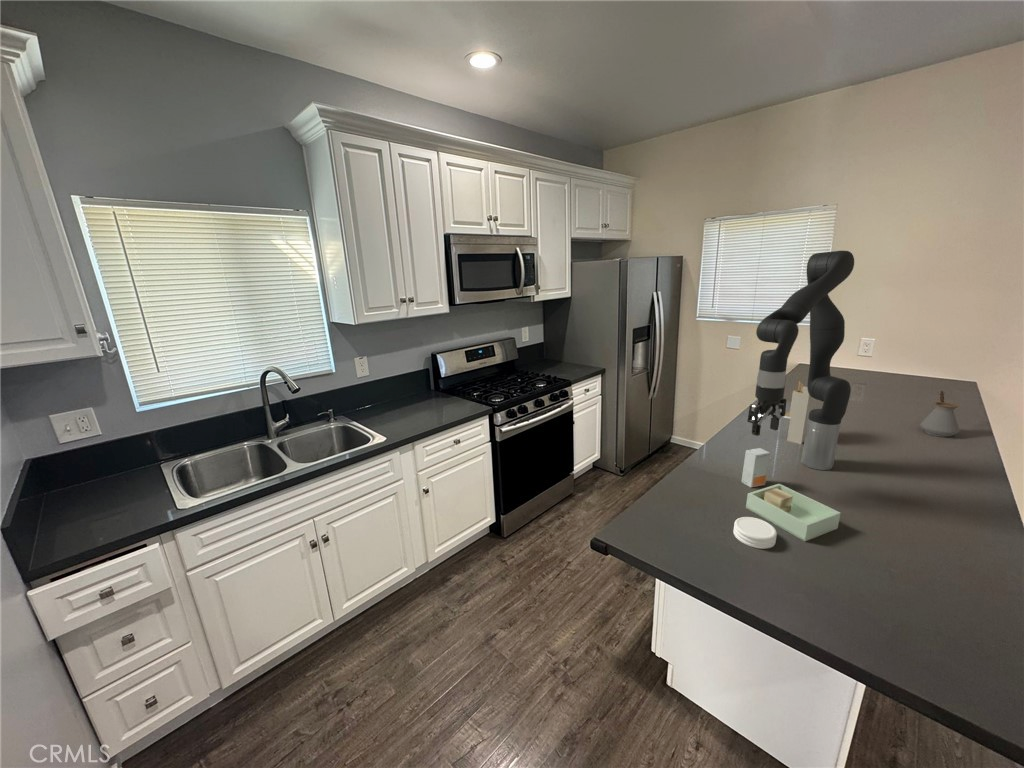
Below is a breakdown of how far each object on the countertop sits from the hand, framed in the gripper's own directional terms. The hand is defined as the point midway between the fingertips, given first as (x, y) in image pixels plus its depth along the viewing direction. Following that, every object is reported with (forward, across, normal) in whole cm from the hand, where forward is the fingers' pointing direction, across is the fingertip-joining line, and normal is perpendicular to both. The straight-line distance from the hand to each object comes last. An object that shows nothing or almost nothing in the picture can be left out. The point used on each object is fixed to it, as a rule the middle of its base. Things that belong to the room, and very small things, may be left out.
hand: (764, 432), depth 130 cm
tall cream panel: (+21, -50, -19) cm, 57 cm away
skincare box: (+20, 0, -2) cm, 20 cm away
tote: (+19, +9, +16) cm, 27 cm away
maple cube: (+19, +8, +12) cm, 24 cm away
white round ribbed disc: (+19, +26, +18) cm, 37 cm away
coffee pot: (+22, -108, +2) cm, 110 cm away
